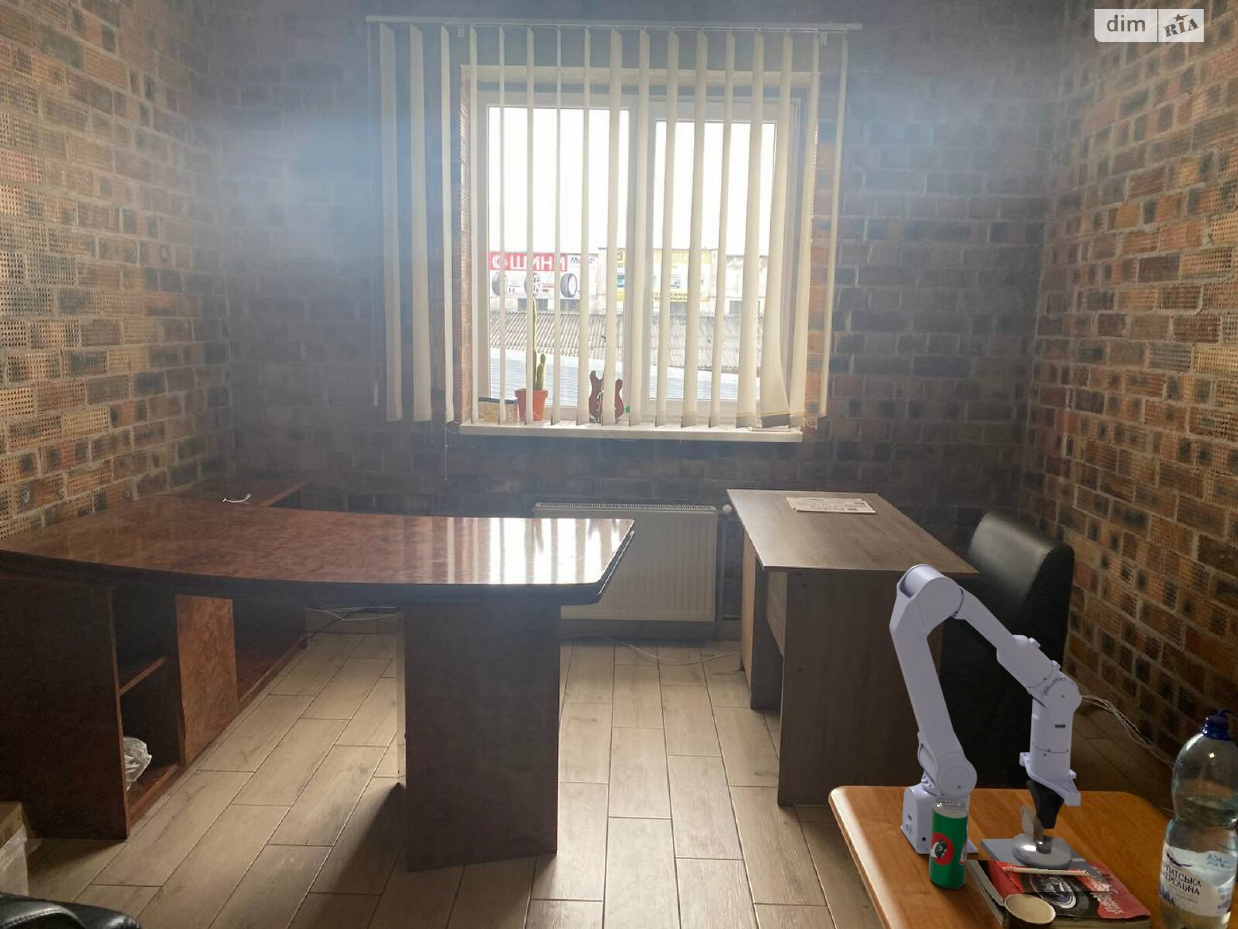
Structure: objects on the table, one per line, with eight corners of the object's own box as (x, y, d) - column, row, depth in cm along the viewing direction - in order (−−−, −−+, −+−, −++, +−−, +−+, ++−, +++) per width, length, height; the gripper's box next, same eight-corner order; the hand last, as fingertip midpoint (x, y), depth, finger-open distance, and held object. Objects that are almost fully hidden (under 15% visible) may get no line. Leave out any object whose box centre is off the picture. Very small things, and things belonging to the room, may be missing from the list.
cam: (1077, 873, 131) (1078, 851, 130) (1019, 867, 132) (1020, 845, 132) (1050, 825, 145) (1052, 804, 144) (998, 820, 146) (999, 799, 146)
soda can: (968, 893, 128) (972, 813, 127) (931, 889, 129) (934, 809, 127) (961, 873, 133) (965, 797, 131) (926, 869, 134) (929, 793, 132)
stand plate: (1021, 893, 128) (1022, 886, 128) (980, 845, 141) (980, 838, 141) (1109, 891, 128) (1110, 884, 128) (1060, 843, 141) (1061, 837, 141)
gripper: (1102, 765, 133) (1097, 851, 134) (1050, 726, 147) (1046, 804, 149) (1056, 766, 133) (1051, 852, 134) (1009, 727, 147) (1005, 805, 148)
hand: (1045, 827), depth 141 cm, fingers closed, pressing on cam
